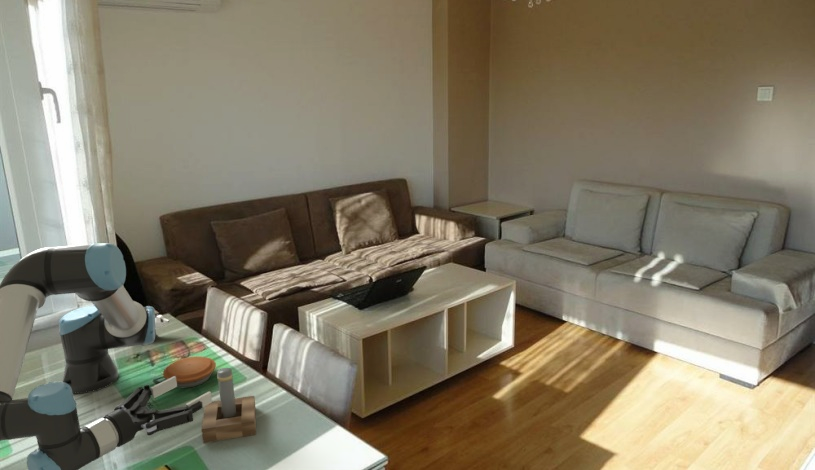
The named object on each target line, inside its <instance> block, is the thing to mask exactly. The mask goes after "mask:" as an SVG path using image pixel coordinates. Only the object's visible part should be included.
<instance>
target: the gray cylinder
mask: <svg viewBox="0 0 815 470" xmlns="http://www.w3.org/2000/svg"><path fill="white" fill-rule="evenodd" d="M216 373H217V375H216V377H217V382H218V389H219V390H218V391H219V401H221V409H222V417H223V419H226V418H233V417H237V415H236V406H235V389H234V388H235V387H234V380H233V371H232V368H230V367H222V368H220V369H218V370H217V372H216Z"/></svg>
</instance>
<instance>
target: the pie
mask: <svg viewBox="0 0 815 470" xmlns="http://www.w3.org/2000/svg"><path fill="white" fill-rule="evenodd" d="M216 367H217V365H216V362H215V360H214V359H212V358H210V357H206V356H189V357H184V358H182V359H178V360H176V361H174V362H172V363H170V364H169V365H167V366H166V367H165V368H164V370H163V371H162V372H163V373H162V375H163V378H164V379H165V380H167V379H169V378H171V377H173V376H175V377H176V381H177V387H176V388H181V389H182V388H192V387H193V388H194V387H196V386H199V385H201V384H204V383H205V382H207V381H208V380H209V379H210V377H211V376H212V373H213V372H214V370H215V368H216Z"/></svg>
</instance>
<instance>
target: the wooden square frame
mask: <svg viewBox="0 0 815 470" xmlns="http://www.w3.org/2000/svg"><path fill="white" fill-rule="evenodd" d="M235 406H236V415H237V417H233V418H226V419H223V417H222V409H221V400H215V401H212V403H210V404H208V405H206V406H204V412H203V417H202V425H201V434H202V443H203V444H204V443H210V442H211V443H212V442H216V441H223V440H225V441H226V440H230V439H236V438H245V437H250V436H256V434H257V433H256V432H257V430H256V429H257V427H256V425H257V423H256V419H257V416H256V413H257V412H256V411H257V410H256V408H257V407H256V398H255V395H250V396H249V395H248V396H243V397H236V398H235Z"/></svg>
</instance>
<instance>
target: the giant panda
mask: <svg viewBox="0 0 815 470" xmlns="http://www.w3.org/2000/svg"><path fill="white" fill-rule="evenodd" d="M169 323H170V319H168V318H166V317H165V316H163V315H162V314H159V313H155V339H154V342H155V341H156V338H159V335H158V334H157V331H156V330H157V329H162V328H163V327H164V326H166V325H168V324H169Z"/></svg>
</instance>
